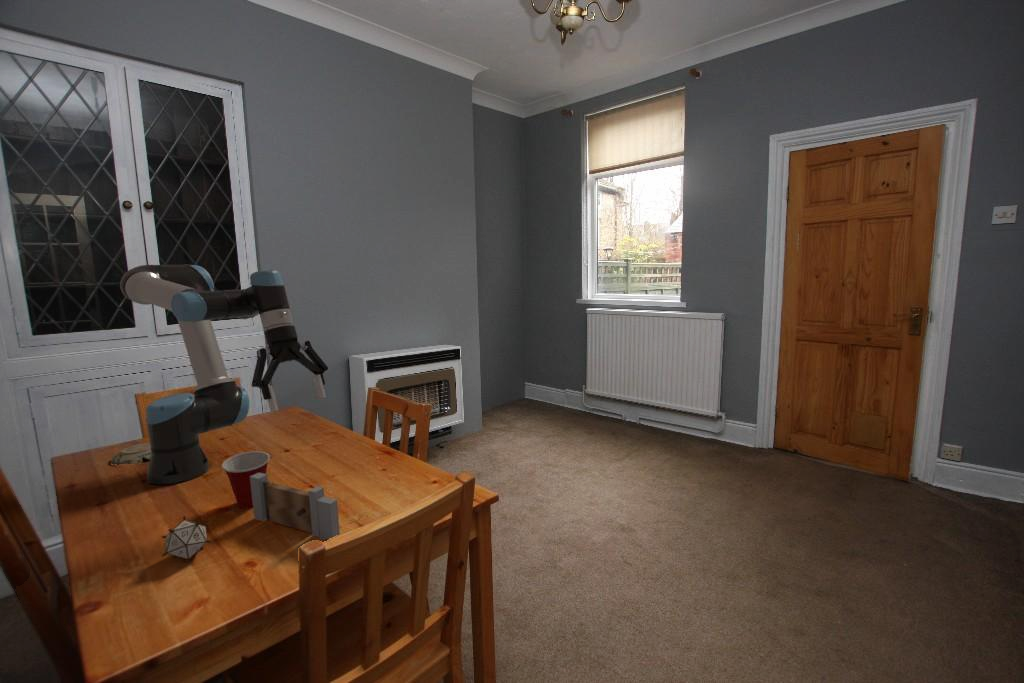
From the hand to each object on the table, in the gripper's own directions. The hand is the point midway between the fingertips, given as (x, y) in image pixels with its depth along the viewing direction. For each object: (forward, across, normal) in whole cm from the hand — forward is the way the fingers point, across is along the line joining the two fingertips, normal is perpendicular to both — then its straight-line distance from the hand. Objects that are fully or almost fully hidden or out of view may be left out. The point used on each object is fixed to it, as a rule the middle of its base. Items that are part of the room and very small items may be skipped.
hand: (299, 404), depth 125 cm
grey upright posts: (+28, -13, -8) cm, 31 cm away
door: (+27, -14, -7) cm, 31 cm away
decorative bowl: (+4, -18, +72) cm, 74 cm away
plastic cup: (+22, -13, +12) cm, 28 cm away
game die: (+25, -32, 0) cm, 41 cm away
